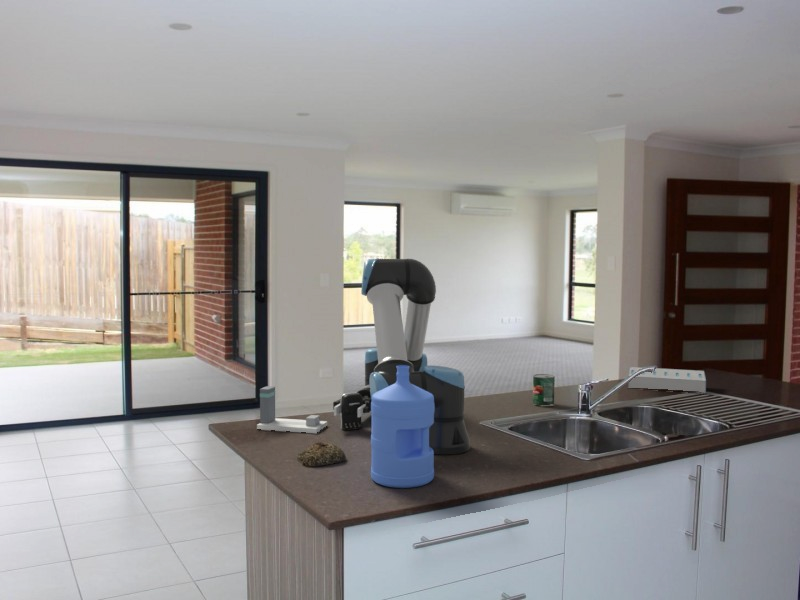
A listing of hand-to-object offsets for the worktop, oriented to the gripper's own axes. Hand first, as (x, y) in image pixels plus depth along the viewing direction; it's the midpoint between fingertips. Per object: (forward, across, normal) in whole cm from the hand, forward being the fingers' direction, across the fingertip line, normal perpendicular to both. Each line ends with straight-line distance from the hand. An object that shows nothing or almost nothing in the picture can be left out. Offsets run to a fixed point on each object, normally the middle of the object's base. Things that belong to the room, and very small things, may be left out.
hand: (346, 412), depth 214 cm
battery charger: (-5, 0, -7) cm, 8 cm away
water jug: (+39, -27, -7) cm, 48 cm away
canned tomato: (-58, -58, -7) cm, 82 cm away
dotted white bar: (-106, -107, -7) cm, 151 cm away
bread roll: (+28, -2, -7) cm, 29 cm away
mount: (-2, +19, -6) cm, 20 cm away
